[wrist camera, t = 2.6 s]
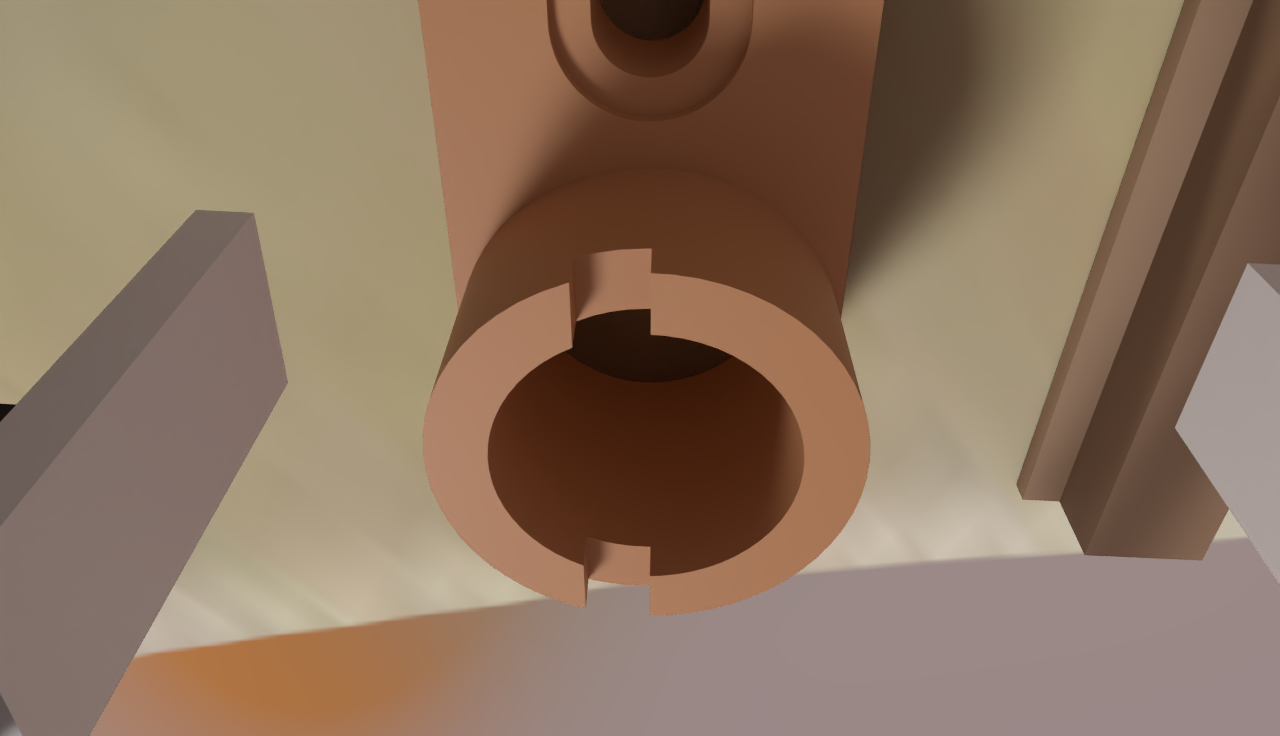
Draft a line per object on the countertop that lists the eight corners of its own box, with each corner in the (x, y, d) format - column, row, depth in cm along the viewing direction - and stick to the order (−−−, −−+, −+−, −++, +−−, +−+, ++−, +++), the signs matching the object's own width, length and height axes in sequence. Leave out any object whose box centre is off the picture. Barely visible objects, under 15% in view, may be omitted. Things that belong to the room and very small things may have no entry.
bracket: (805, 414, 26) (842, 617, 21) (496, 411, 27) (449, 611, 21) (909, -461, 16) (1041, -531, 10) (399, -457, 16) (255, -525, 11)
